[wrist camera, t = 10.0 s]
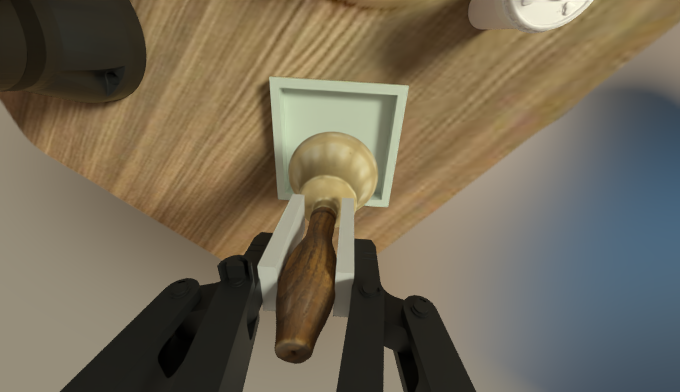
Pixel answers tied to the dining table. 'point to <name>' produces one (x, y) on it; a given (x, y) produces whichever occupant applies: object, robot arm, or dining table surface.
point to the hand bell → (318, 235)
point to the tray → (337, 122)
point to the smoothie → (524, 14)
